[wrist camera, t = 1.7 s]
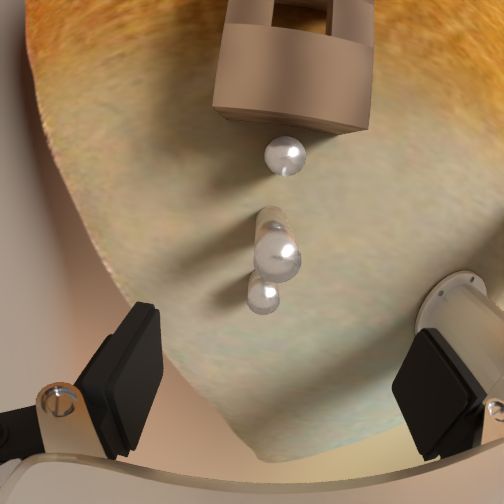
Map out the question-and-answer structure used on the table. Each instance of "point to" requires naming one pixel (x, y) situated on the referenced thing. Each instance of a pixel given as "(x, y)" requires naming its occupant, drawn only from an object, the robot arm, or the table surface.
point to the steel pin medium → (285, 156)
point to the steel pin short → (262, 295)
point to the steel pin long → (275, 247)
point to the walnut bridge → (297, 67)
